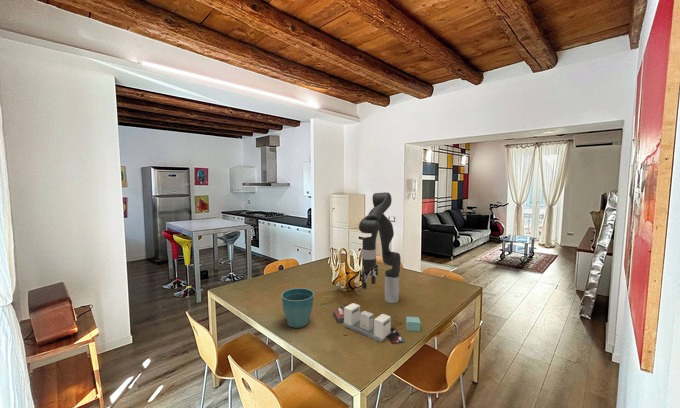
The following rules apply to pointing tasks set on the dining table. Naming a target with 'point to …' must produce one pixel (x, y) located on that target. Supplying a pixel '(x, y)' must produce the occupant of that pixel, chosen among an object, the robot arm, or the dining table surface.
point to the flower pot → (297, 306)
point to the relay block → (413, 324)
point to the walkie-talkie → (339, 314)
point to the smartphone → (395, 337)
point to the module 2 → (382, 326)
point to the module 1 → (351, 314)
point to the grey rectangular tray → (364, 331)
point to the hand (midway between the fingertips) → (368, 286)
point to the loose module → (366, 320)
